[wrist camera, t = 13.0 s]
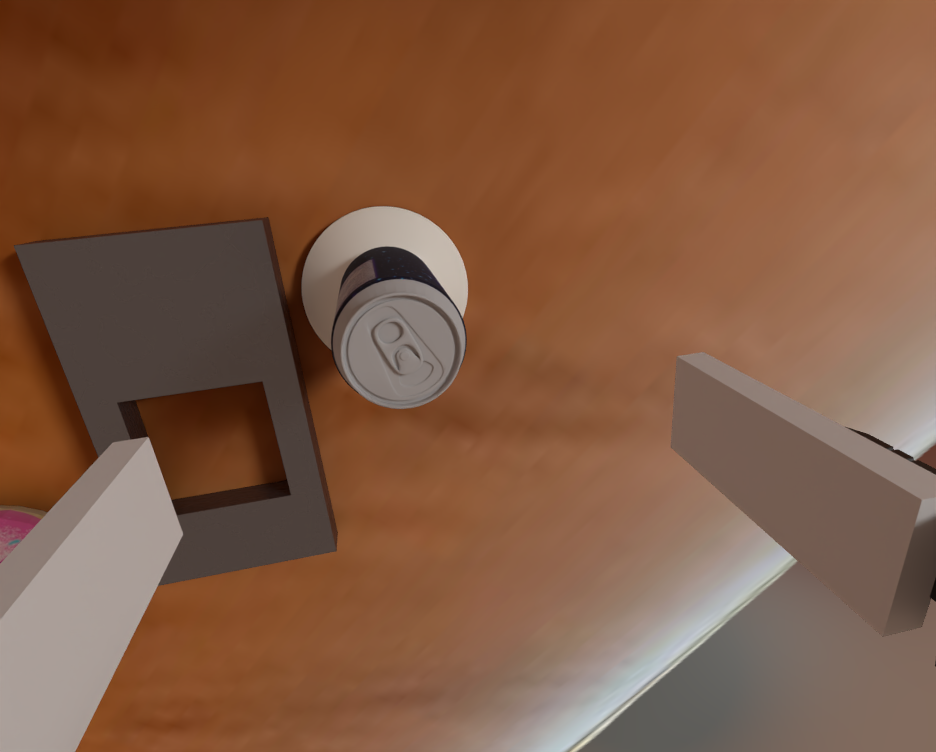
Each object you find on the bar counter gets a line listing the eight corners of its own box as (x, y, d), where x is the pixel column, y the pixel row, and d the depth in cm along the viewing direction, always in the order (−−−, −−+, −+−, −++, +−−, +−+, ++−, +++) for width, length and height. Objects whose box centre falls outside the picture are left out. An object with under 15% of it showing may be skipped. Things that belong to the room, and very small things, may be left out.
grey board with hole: (36, 241, 28) (13, 245, 26) (268, 217, 30) (262, 220, 28) (161, 566, 36) (150, 587, 34) (337, 532, 38) (336, 551, 36)
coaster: (286, 215, 30) (284, 216, 29) (458, 197, 31) (460, 198, 31) (319, 377, 34) (319, 380, 33) (472, 355, 35) (474, 357, 34)
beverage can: (372, 353, 33) (377, 441, 22) (321, 274, 31) (299, 328, 20) (450, 308, 33) (495, 375, 22) (405, 226, 31) (430, 255, 20)
